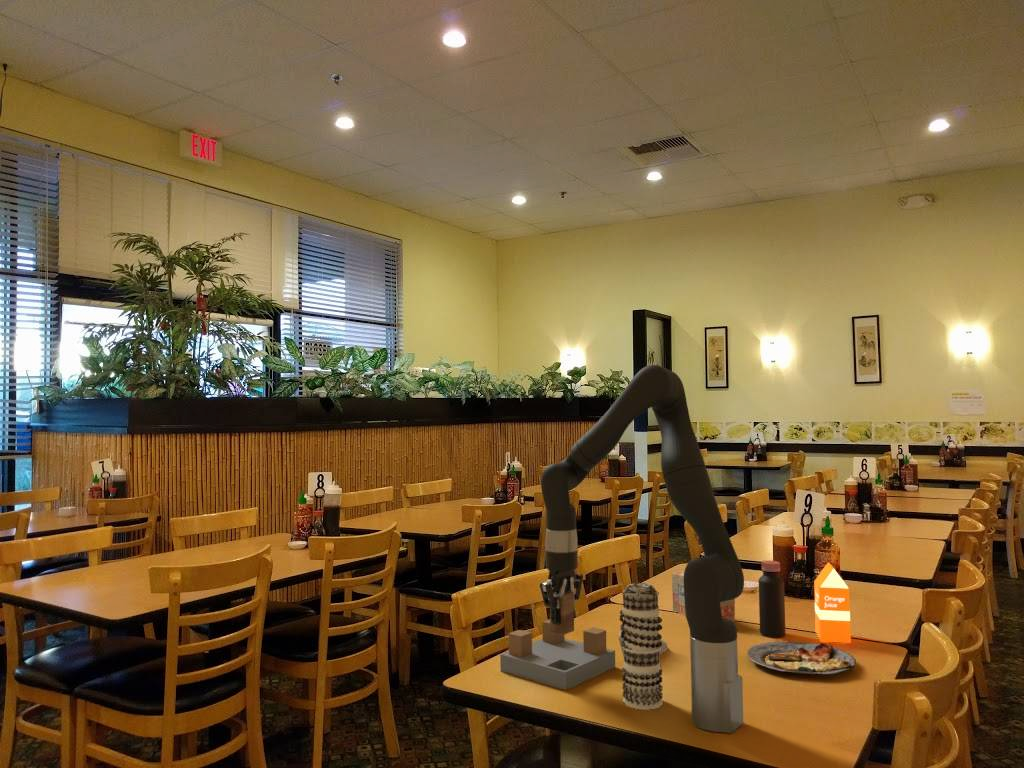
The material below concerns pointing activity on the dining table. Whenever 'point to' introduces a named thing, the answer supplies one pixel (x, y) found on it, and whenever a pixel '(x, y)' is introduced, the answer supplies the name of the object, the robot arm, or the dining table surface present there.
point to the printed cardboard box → (679, 599)
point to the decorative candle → (641, 647)
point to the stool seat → (557, 657)
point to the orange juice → (832, 607)
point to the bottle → (771, 600)
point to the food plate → (802, 657)
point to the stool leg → (564, 614)
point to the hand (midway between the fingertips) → (562, 621)
